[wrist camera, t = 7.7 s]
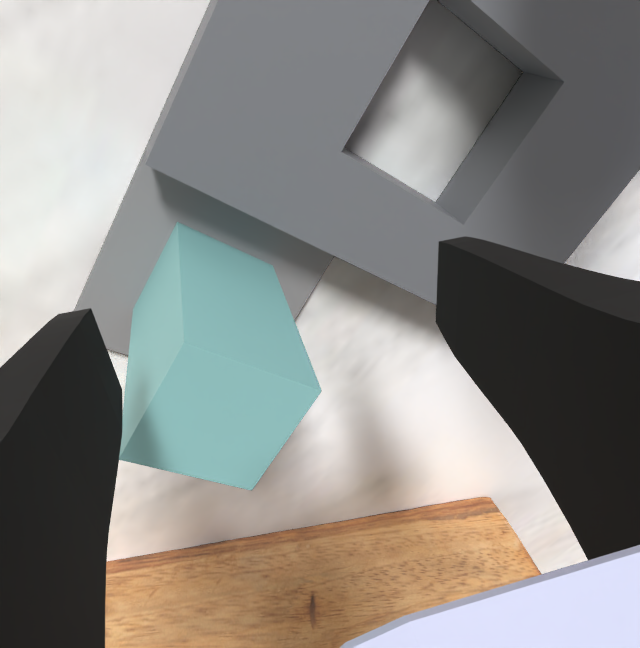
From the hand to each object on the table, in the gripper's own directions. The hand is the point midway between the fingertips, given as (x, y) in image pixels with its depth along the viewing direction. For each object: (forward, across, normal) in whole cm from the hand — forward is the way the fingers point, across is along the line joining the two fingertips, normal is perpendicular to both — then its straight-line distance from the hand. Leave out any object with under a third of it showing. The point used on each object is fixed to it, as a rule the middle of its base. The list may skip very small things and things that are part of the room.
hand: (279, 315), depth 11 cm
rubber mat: (+10, +2, +4) cm, 11 cm away
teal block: (+10, +2, +4) cm, 11 cm away
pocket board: (+10, -7, -2) cm, 13 cm away
